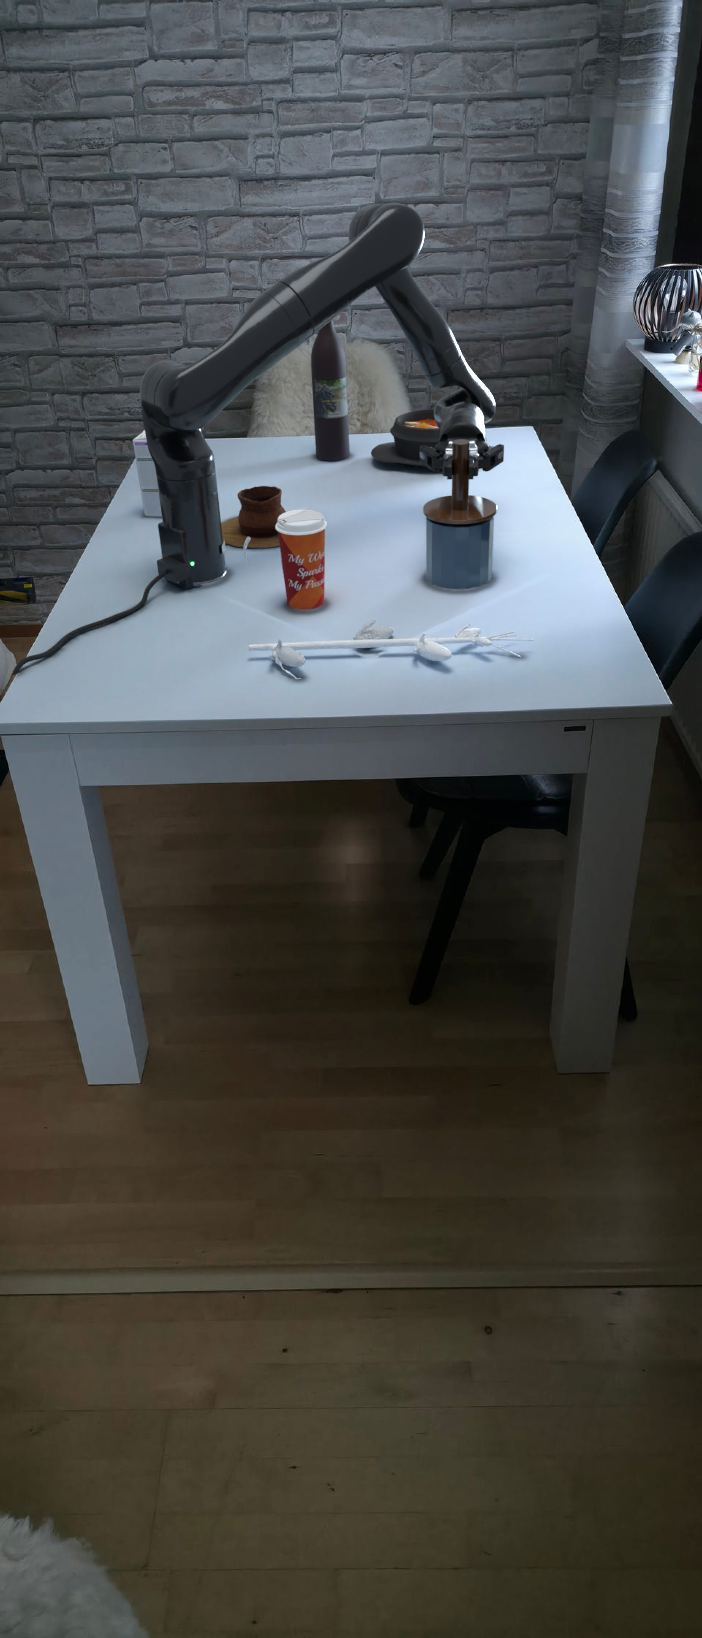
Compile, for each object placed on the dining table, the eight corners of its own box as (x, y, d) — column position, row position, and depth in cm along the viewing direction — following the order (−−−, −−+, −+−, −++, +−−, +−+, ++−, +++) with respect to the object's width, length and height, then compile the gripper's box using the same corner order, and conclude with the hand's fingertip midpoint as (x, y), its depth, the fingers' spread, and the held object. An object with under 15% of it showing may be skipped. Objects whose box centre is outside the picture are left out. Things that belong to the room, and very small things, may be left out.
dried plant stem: (245, 681, 153) (539, 671, 152) (233, 543, 145) (543, 531, 144) (253, 655, 164) (528, 646, 162) (243, 525, 156) (532, 514, 154)
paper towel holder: (463, 534, 167) (464, 458, 161) (407, 516, 174) (407, 443, 167) (512, 513, 173) (515, 440, 167) (456, 497, 180) (457, 426, 174)
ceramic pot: (253, 557, 191) (249, 516, 187) (194, 531, 202) (189, 492, 198) (333, 529, 200) (332, 490, 196) (272, 506, 211) (270, 469, 207)
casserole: (488, 445, 238) (489, 404, 233) (497, 472, 223) (498, 429, 218) (370, 449, 239) (369, 408, 234) (371, 477, 223) (370, 434, 219)
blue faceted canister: (461, 597, 173) (463, 532, 168) (412, 580, 180) (412, 516, 174) (504, 577, 179) (507, 513, 173) (455, 561, 186) (456, 499, 180)
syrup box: (173, 517, 208) (163, 438, 200) (143, 516, 209) (131, 438, 201) (183, 507, 213) (173, 429, 204) (153, 506, 214) (143, 428, 205)
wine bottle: (313, 461, 233) (304, 305, 216) (319, 451, 239) (311, 298, 222) (346, 461, 232) (340, 305, 215) (352, 451, 238) (346, 298, 221)
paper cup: (294, 619, 169) (287, 530, 161) (273, 602, 175) (266, 514, 167) (340, 608, 172) (336, 519, 164) (318, 591, 178) (313, 504, 170)
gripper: (419, 415, 180) (413, 448, 165) (507, 414, 178) (508, 447, 164) (419, 462, 184) (413, 498, 170) (505, 461, 182) (506, 497, 168)
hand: (460, 472), depth 167 cm, fingers closed on paper towel holder, 2 cm apart
